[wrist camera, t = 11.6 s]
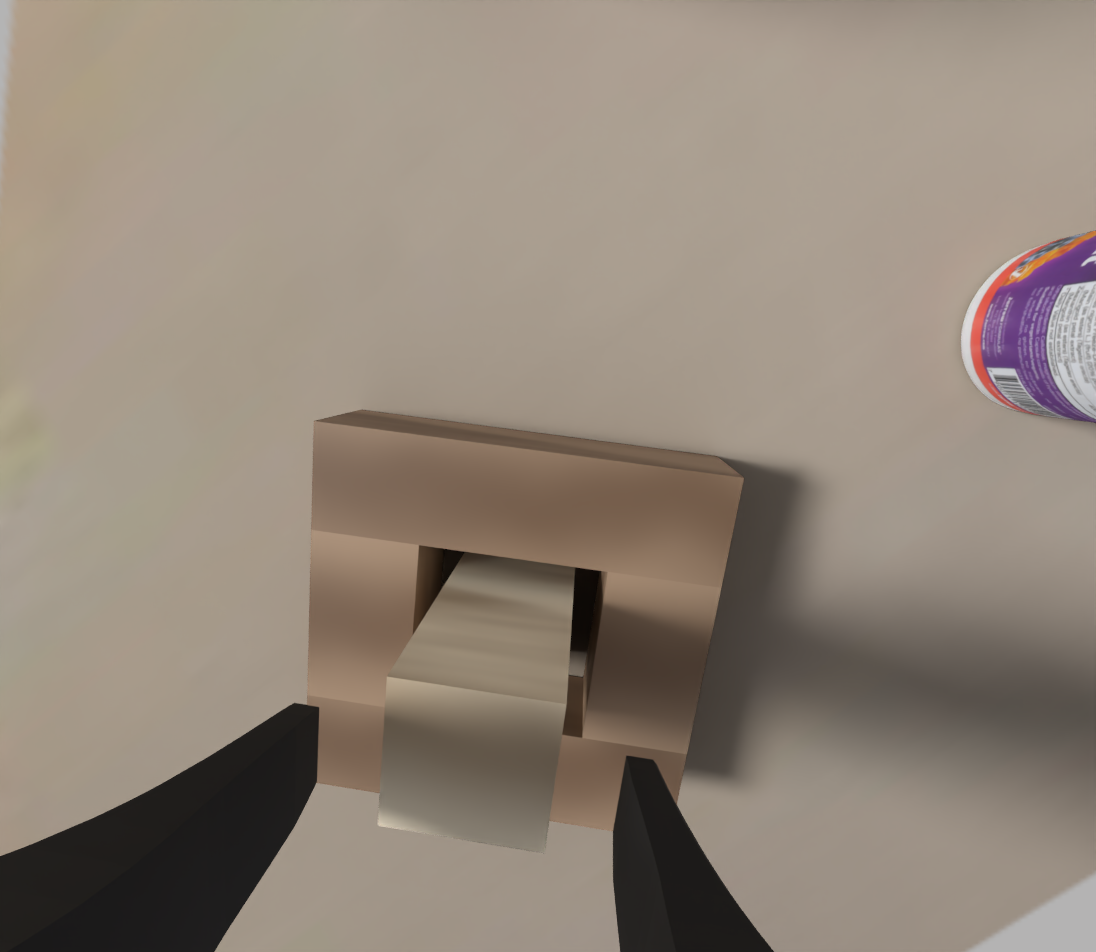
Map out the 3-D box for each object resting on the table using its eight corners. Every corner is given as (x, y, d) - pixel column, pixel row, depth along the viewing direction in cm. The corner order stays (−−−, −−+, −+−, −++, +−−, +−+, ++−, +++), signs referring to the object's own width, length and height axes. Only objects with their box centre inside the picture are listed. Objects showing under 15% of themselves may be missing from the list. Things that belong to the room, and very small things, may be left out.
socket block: (656, 766, 22) (669, 840, 19) (347, 717, 23) (305, 780, 19) (716, 456, 19) (744, 478, 16) (360, 410, 20) (313, 421, 17)
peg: (562, 650, 21) (544, 853, 13) (462, 635, 22) (377, 825, 13) (575, 555, 21) (566, 704, 12) (471, 540, 21) (386, 676, 12)
